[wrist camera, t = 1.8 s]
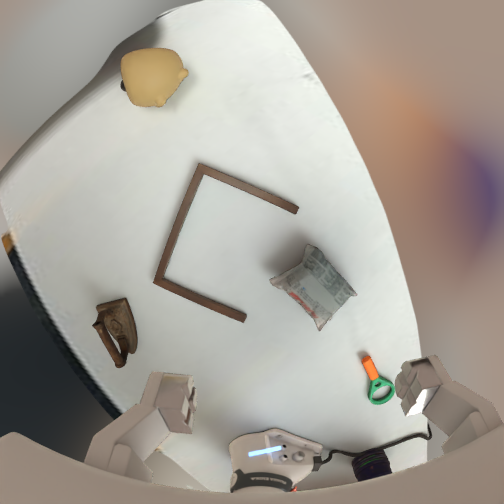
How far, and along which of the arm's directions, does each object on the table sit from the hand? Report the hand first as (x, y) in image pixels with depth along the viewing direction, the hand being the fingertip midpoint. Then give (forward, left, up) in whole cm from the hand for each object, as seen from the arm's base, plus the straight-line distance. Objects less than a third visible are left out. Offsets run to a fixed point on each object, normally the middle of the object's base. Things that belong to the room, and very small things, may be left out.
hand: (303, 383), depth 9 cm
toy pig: (+26, -16, -34) cm, 46 cm away
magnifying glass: (-33, +17, -34) cm, 51 cm away
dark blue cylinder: (-52, +43, -34) cm, 76 cm away
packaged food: (-10, +4, -34) cm, 36 cm away
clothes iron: (+17, +26, -34) cm, 46 cm away
